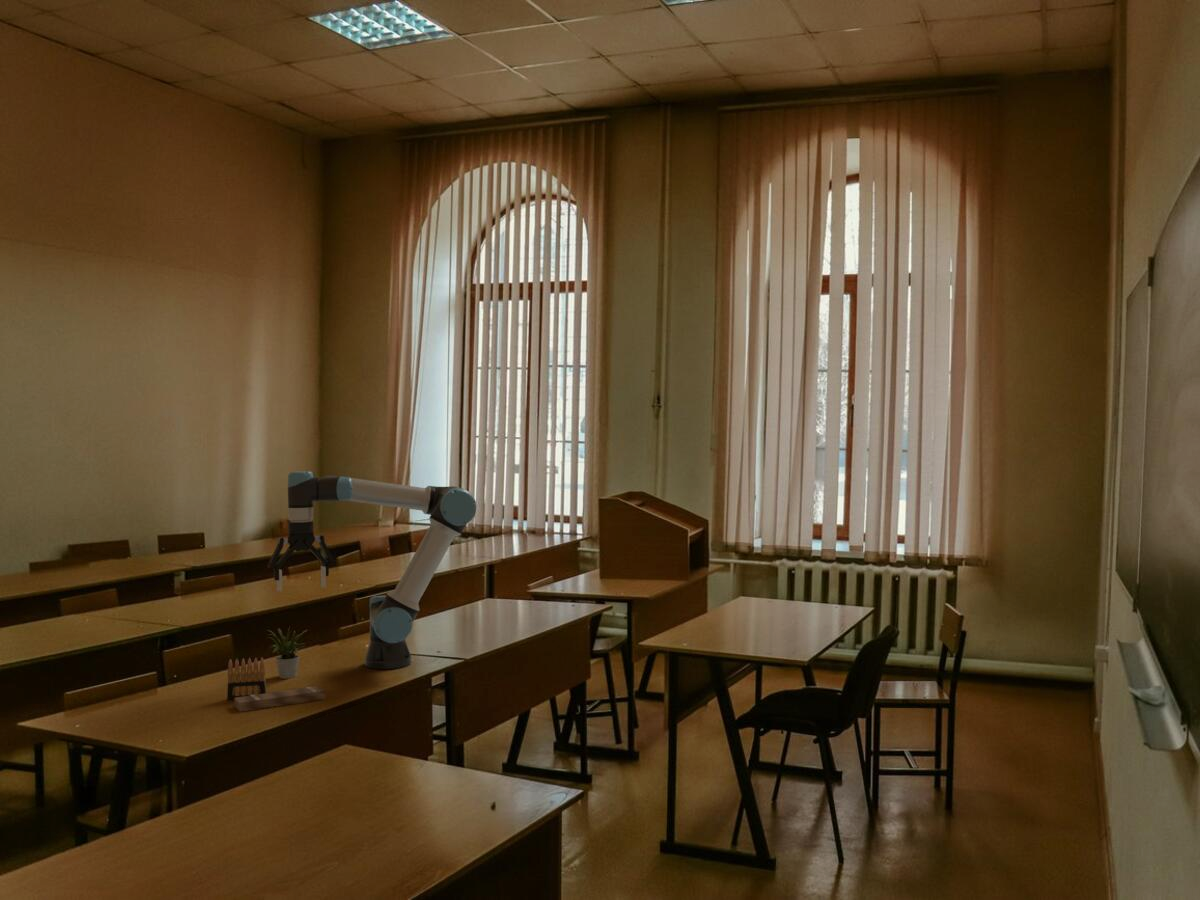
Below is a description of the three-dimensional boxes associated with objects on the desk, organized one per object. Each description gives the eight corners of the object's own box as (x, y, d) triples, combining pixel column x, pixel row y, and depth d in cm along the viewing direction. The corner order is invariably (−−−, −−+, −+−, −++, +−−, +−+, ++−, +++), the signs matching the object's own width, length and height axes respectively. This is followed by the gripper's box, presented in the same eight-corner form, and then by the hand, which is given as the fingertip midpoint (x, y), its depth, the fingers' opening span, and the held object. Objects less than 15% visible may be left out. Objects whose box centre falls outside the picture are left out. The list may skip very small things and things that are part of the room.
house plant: (252, 681, 319) (251, 629, 319) (271, 671, 333) (270, 621, 333) (295, 682, 318) (295, 630, 317) (313, 672, 332) (312, 621, 331)
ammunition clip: (266, 696, 302) (265, 656, 301) (265, 698, 300) (265, 657, 300) (228, 699, 299) (227, 658, 299) (227, 700, 298) (226, 659, 297)
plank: (318, 694, 304) (318, 685, 304) (325, 699, 298) (324, 690, 298) (234, 706, 291) (234, 697, 291) (239, 711, 286) (239, 702, 285)
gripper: (336, 517, 329) (337, 583, 330) (256, 522, 316) (257, 590, 317) (343, 519, 323) (344, 586, 324) (263, 524, 310) (264, 594, 310)
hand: (301, 588), depth 320 cm, fingers open, 13 cm apart
